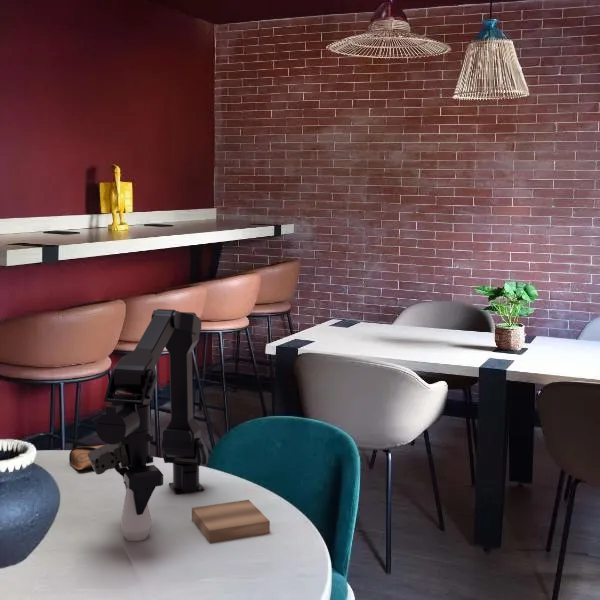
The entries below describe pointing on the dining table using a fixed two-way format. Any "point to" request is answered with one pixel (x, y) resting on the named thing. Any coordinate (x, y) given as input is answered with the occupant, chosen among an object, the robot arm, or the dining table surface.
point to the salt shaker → (134, 520)
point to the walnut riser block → (230, 521)
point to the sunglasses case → (81, 457)
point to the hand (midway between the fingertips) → (136, 509)
